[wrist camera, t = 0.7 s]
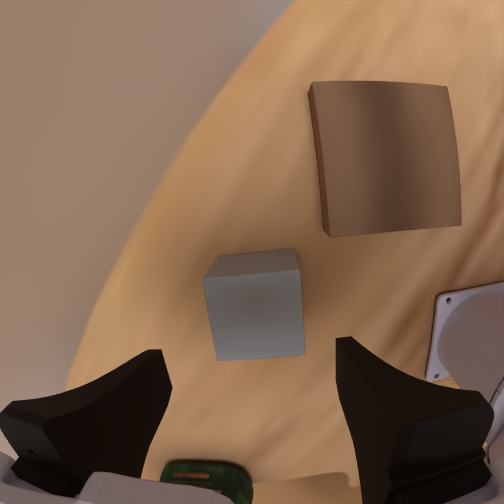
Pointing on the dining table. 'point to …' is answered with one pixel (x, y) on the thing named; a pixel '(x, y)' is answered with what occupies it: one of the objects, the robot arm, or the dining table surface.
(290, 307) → the slate cube
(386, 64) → the dining table surface
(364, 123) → the walnut block
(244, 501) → the coffee jar
